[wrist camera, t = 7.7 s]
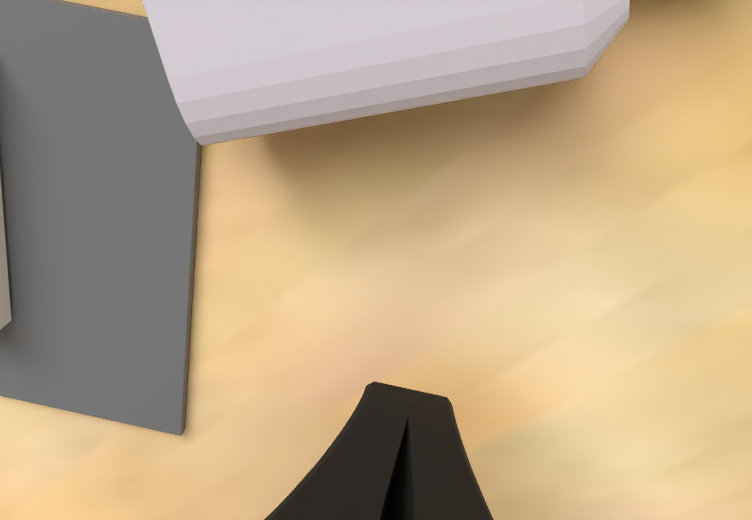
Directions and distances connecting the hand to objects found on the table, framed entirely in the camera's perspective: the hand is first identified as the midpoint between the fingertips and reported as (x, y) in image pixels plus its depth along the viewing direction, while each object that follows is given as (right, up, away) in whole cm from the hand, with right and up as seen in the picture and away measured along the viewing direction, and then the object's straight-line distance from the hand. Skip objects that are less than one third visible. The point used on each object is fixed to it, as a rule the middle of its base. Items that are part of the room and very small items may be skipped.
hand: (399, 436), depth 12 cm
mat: (-13, +4, +11) cm, 17 cm away
